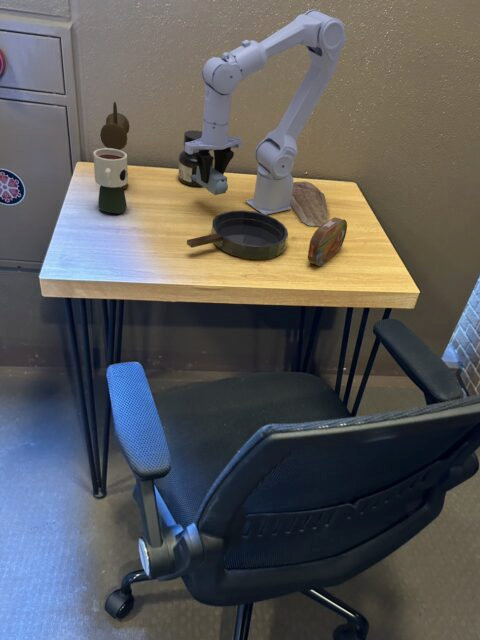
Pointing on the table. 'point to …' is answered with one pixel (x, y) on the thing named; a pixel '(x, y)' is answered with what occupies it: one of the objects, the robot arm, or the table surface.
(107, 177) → the character mug
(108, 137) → the kendama
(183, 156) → the ink bottle
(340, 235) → the tin
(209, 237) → the pan handle
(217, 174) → the grey flat-sided piece
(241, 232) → the pan
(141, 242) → the table surface
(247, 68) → the robot arm
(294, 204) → the fish fossil
